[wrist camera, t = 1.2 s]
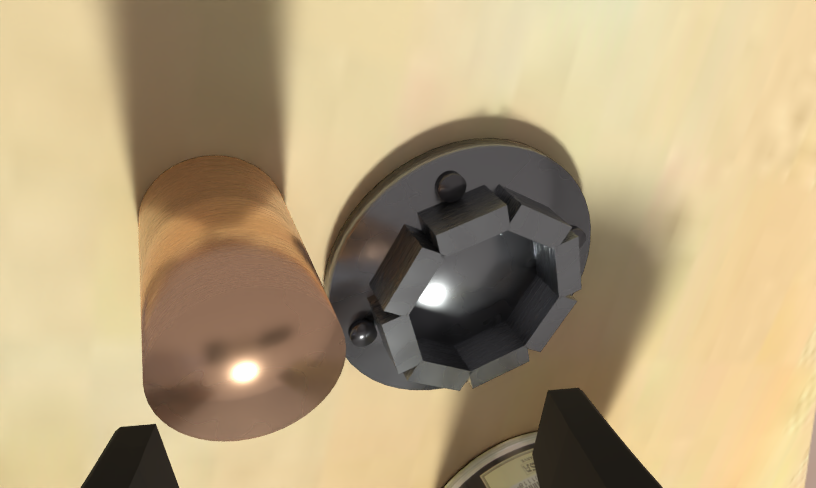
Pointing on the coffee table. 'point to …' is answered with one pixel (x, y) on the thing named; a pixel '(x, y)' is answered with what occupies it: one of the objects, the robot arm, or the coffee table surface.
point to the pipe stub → (230, 305)
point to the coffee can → (501, 467)
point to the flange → (458, 265)
